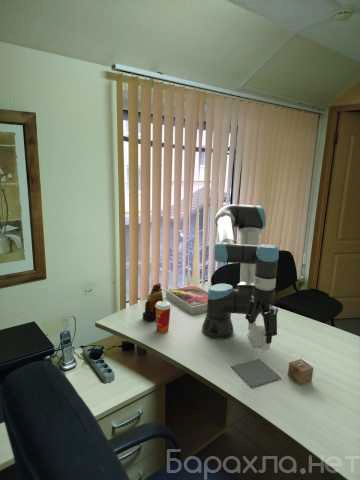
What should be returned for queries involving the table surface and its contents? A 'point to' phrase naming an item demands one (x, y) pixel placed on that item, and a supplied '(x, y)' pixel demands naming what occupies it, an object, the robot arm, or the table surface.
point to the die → (256, 336)
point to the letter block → (300, 372)
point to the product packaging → (189, 298)
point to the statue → (152, 303)
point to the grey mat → (255, 373)
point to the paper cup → (162, 316)
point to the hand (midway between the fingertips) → (258, 344)
